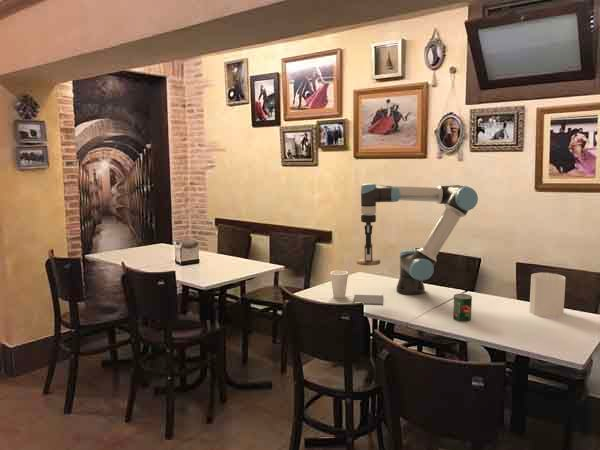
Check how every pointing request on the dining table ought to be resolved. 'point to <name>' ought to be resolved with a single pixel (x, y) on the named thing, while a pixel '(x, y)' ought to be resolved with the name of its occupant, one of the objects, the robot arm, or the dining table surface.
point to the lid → (366, 262)
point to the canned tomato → (462, 307)
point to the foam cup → (339, 283)
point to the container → (547, 295)
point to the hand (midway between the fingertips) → (368, 259)
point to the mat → (369, 299)
